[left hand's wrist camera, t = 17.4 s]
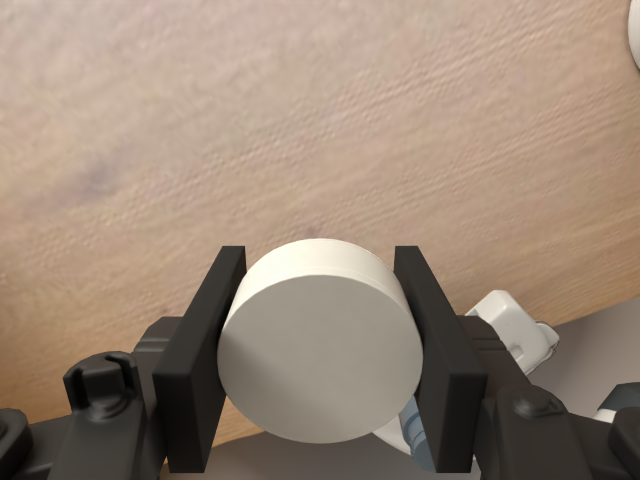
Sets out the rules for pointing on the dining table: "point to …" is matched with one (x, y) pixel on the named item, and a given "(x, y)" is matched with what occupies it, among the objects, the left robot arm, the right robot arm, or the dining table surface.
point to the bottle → (415, 436)
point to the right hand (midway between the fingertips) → (396, 332)
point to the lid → (320, 343)
